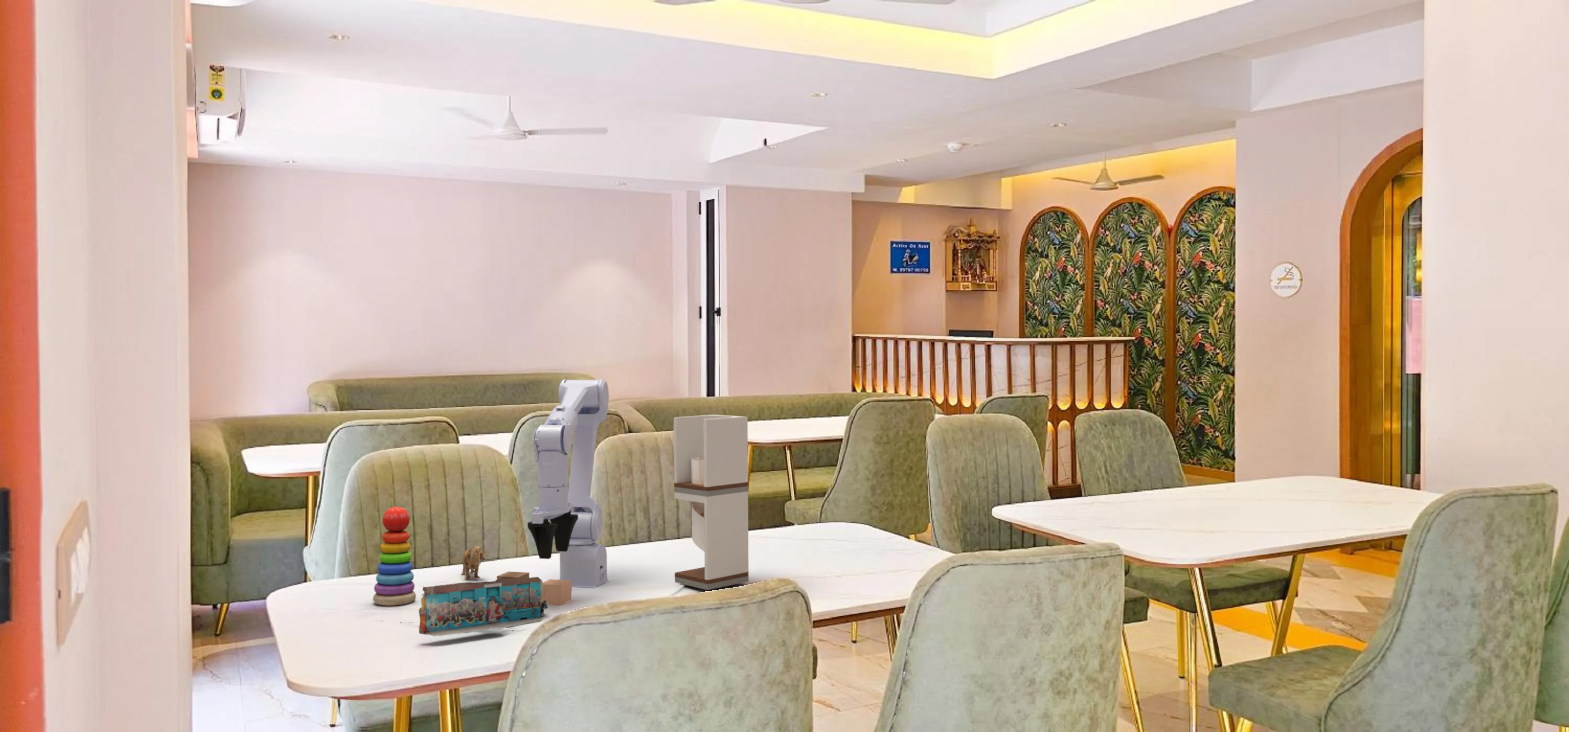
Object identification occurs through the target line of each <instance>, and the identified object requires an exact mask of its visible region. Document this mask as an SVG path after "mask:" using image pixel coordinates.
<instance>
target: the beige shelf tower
mask: <svg viewBox="0 0 1569 732" xmlns="http://www.w3.org/2000/svg"><path fill="white" fill-rule="evenodd" d="M748 425H749V424H748V416H740V415H728V414H726V415H725V414H724V415H723V414H704V415H690V416H689V415H688V416H674V417H673V488H674V489H673V493H674V494H673V496H674V497H673V499H676V500H682V501H688V502H691V538H692V541H693V544H695V546H697V548H699V549H700V550H701V551H703V552H704V566H702V567H698V568H697V567H696V568H692V569H686V570H682V571H677V572H674V582H675V583H677V584H680V585H685V586H690V587H694V588H698V589H701V590H707V591H708V590H710V591H711V590H713V589H714V590H715V589H719V588H724V587H728V586H734V585H739V584H742V583H748V582H750V581H749V578H750V577H749V574H750V573H749V465H748V464H749V458H748V457H749V454H748V452H749V450H748V449H749V445H748V443H749V442H748V441H749V439H748V435H749V434H748V433H749V431H748V428H749V427H748Z"/></svg>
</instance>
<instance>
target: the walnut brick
mask: <svg viewBox="0 0 1569 732" xmlns="http://www.w3.org/2000/svg"><path fill="white" fill-rule="evenodd" d="M515 578H517V579H519V578H530V572H529V571H528V572H526V571H525V572H524V571H506V572H504V573H501V574H499V575H497V576H496V580H499V579H500V580H502V579H515Z"/></svg>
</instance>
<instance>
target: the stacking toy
mask: <svg viewBox="0 0 1569 732" xmlns="http://www.w3.org/2000/svg"><path fill="white" fill-rule="evenodd" d="M410 518H411V517H410V514H409V512H408V511H407V510H406V509H405V508H404V507H400V506H394V507H393V506H392V507H390V508H388V509H387V510H386V511H384V514H383V516H382V525H383V528H385V530H387V531H384V532H383V533H382V535H381V539H382V541H383V542H382V543H381V545H380V551H381V553H380V555H379V561H380V562H379V564H378V565H377V572H378V573H377V575H376V576H375V580H376V583H375V584H374V587H373V589H374V592H375V593H374V594H373V597H372V600H373V603H375V604H376V605H379V606H386V607H388V606H390V607H391V606H402V605H406V604H411V603H412V602H414V601H415V600H416V597H417V594H416V592H415V591H414V590H415V583H414V581H413V580H414V576H415V575H414V574H415V573H414V572H413V571H412V569H413V564H412V563H413V562H411V559H412V557H413V556H412V555H413V554H412V553H411V552H410V549H411V545H410V543H409V542H408V540H409V539H410V533H409V532H408V531H406V529H407V528H408V526H409V524H410V520H411V519H410Z"/></svg>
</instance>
